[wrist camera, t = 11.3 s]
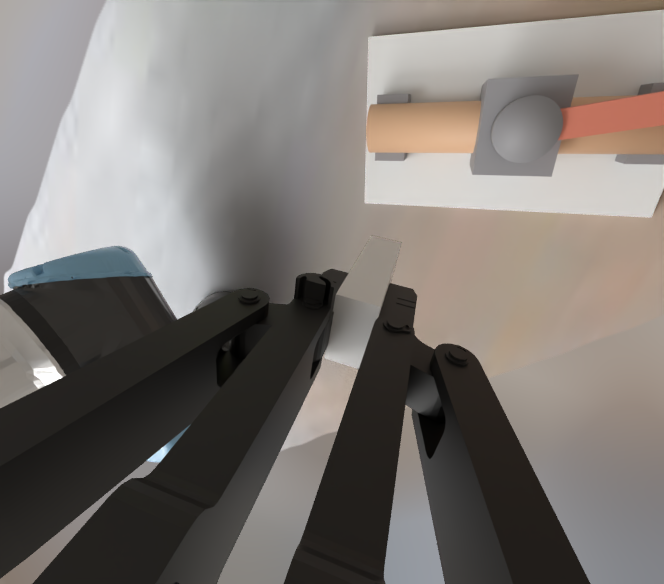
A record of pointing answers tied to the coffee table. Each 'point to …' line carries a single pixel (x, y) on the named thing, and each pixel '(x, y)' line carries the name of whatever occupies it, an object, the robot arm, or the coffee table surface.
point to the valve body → (494, 94)
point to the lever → (567, 122)
